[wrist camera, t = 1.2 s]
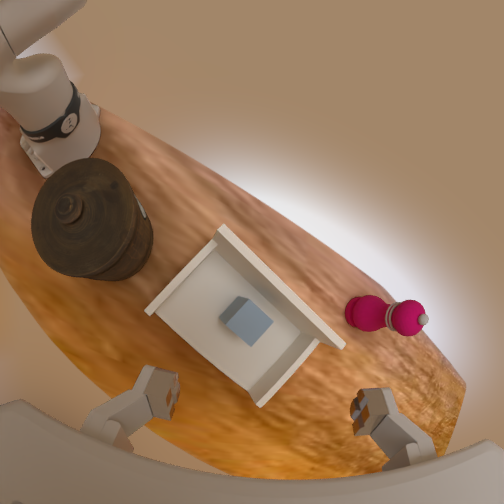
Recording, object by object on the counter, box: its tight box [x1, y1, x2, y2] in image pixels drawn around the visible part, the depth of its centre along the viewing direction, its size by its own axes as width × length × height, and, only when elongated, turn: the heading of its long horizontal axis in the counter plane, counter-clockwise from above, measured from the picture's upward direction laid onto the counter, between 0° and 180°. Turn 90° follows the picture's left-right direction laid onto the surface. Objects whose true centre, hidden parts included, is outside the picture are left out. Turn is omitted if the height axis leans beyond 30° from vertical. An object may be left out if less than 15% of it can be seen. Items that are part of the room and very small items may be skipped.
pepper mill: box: [345, 295, 429, 336], centre depth 43 cm, size 7×7×20 cm
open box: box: [144, 224, 346, 408], centre depth 40 cm, size 24×16×14 cm, turn 47°
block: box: [219, 296, 274, 347], centre depth 42 cm, size 5×5×9 cm
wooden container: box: [31, 158, 153, 281], centre depth 33 cm, size 15×15×22 cm
